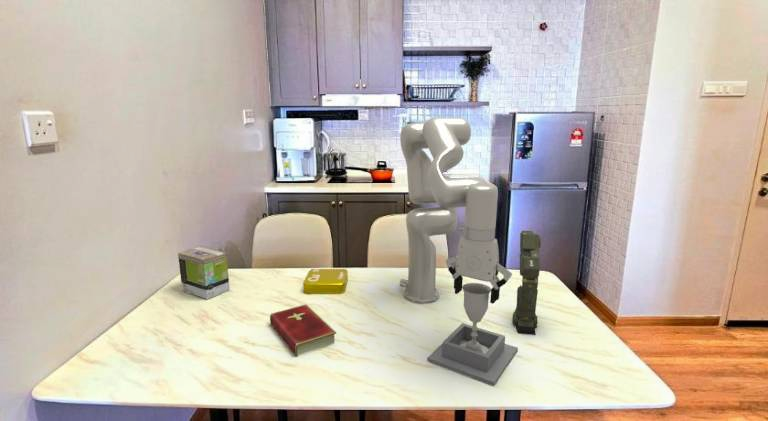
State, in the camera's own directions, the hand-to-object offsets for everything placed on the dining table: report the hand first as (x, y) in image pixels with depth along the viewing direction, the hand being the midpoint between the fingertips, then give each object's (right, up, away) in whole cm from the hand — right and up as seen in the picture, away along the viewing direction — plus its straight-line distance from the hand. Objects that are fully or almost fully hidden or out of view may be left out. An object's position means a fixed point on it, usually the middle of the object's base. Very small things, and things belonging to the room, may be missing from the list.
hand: (475, 296), depth 107 cm
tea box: (-89, -7, +45) cm, 100 cm away
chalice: (0, -15, +3) cm, 16 cm away
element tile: (-45, -7, +49) cm, 67 cm away
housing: (0, -17, +3) cm, 17 cm away
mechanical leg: (+19, -13, +20) cm, 31 cm away
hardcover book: (-48, -15, +15) cm, 52 cm away
